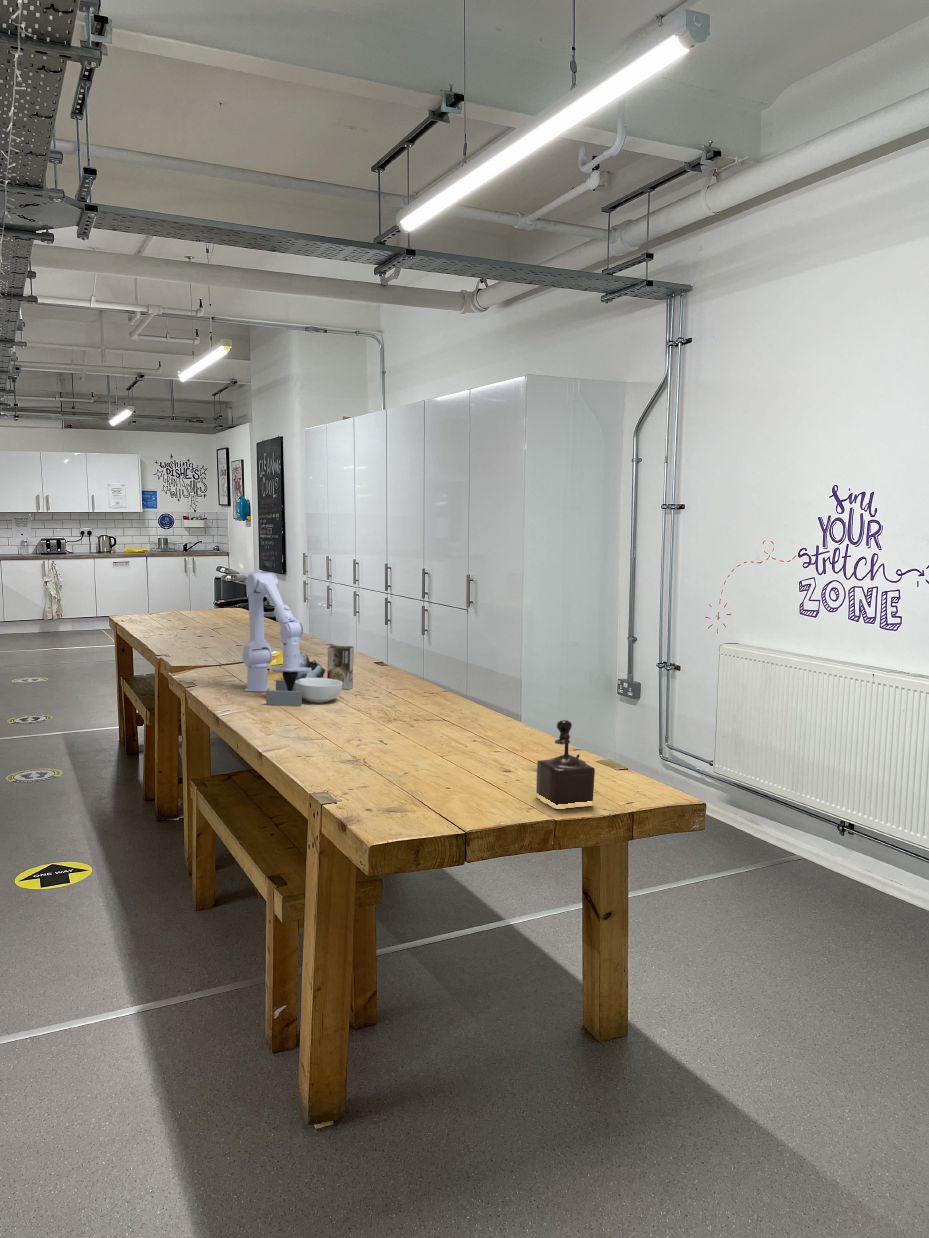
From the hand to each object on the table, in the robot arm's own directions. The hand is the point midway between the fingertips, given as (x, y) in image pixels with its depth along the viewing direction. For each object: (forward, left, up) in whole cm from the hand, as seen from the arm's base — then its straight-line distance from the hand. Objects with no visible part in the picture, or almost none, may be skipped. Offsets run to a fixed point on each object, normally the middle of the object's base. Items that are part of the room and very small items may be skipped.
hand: (290, 693), depth 315 cm
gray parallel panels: (0, -1, -2) cm, 2 cm away
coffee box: (-26, +15, -3) cm, 30 cm away
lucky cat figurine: (-36, +1, -3) cm, 36 cm away
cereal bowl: (0, +10, -3) cm, 11 cm away
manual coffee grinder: (+107, +80, -3) cm, 134 cm away
